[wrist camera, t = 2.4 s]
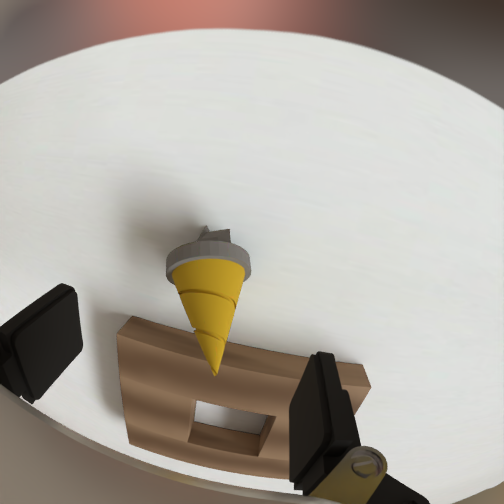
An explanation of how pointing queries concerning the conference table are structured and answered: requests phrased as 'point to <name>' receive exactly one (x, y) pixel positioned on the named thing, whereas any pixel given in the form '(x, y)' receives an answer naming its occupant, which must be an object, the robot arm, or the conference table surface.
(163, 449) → the holder block
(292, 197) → the conference table surface
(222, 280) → the drill bit
